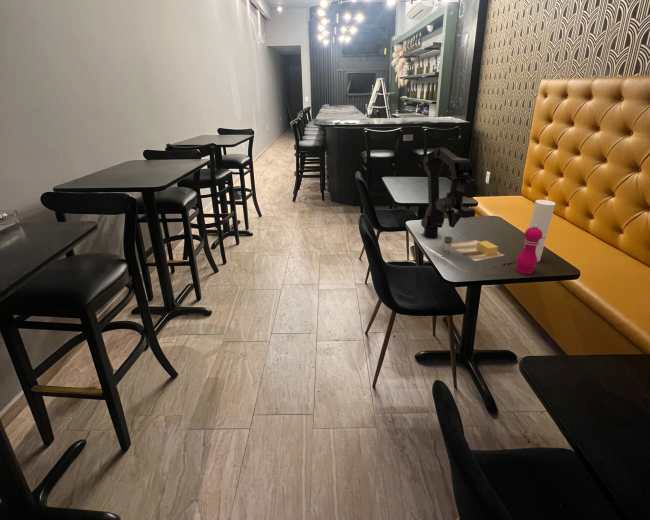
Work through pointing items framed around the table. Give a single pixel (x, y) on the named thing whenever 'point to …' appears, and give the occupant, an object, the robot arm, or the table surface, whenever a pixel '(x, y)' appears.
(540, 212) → the cylindrical container
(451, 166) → the robot arm
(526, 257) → the pink bowling pin
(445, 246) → the bronze metal canister
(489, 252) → the mustard yellow box
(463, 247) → the board
